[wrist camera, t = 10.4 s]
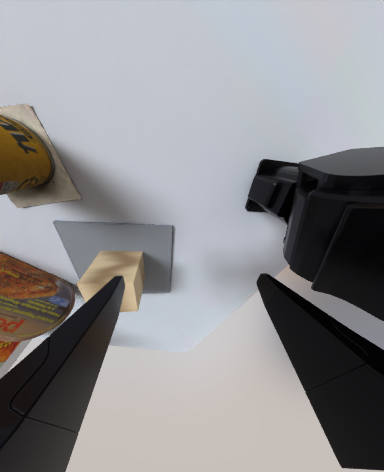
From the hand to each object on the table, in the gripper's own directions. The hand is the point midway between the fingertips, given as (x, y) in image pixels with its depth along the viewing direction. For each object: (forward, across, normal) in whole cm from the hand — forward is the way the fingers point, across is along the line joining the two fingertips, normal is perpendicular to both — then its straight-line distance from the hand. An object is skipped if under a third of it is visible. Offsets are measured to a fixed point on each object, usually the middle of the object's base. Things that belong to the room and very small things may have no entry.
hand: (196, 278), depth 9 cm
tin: (+12, +23, +12) cm, 29 cm away
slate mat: (+12, +9, +10) cm, 18 cm away
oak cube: (+12, +9, +10) cm, 18 cm away
